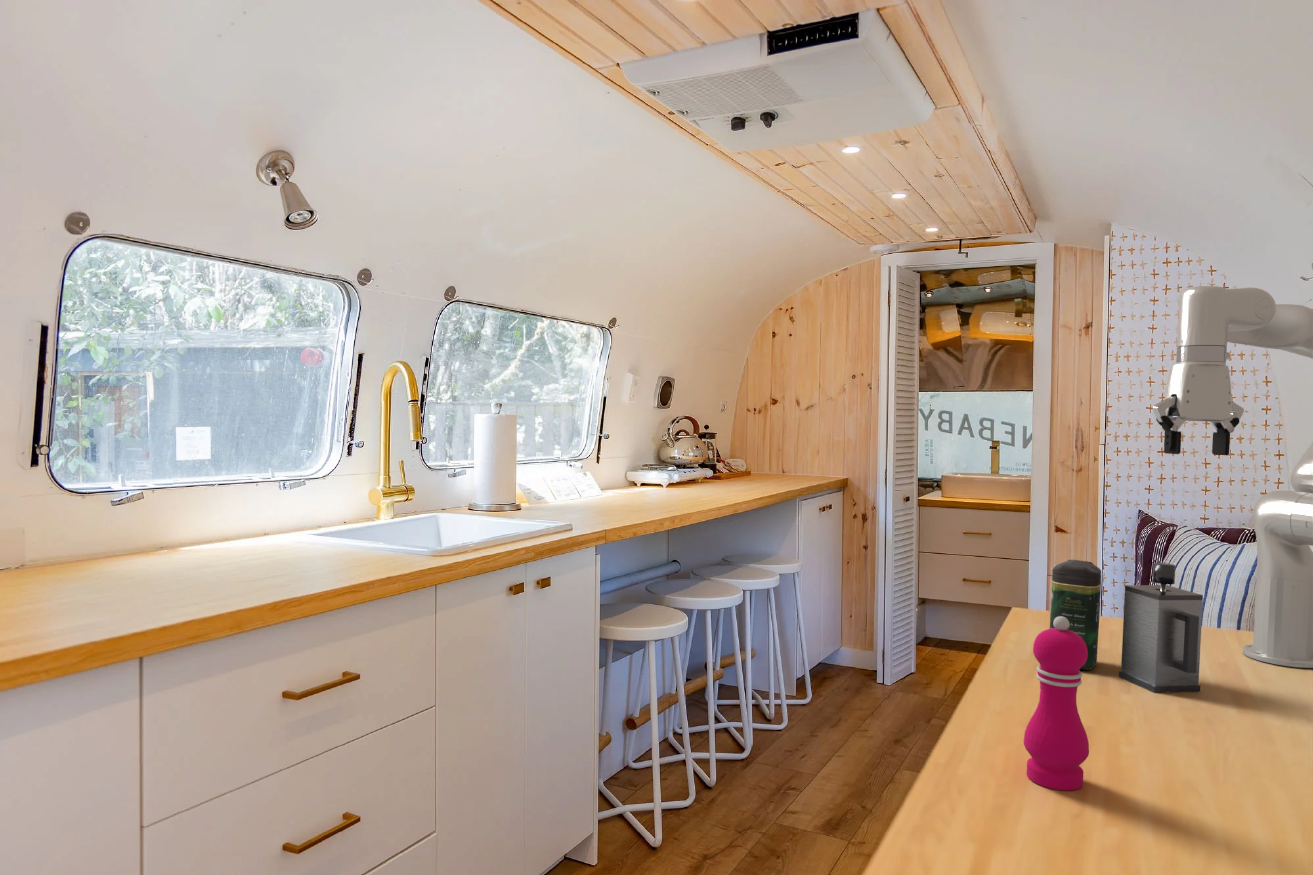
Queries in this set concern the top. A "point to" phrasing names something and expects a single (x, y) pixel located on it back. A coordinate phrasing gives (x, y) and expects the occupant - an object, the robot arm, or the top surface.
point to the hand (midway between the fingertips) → (1196, 454)
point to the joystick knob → (1163, 574)
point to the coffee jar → (1078, 602)
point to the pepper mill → (1057, 711)
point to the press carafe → (1161, 638)
